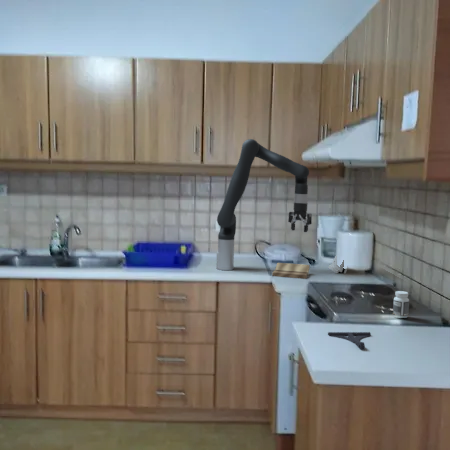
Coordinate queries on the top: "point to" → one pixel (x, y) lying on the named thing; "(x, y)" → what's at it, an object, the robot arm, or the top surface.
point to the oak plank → (292, 267)
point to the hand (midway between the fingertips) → (299, 231)
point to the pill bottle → (401, 303)
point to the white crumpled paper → (335, 267)
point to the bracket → (352, 337)
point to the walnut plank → (290, 274)
